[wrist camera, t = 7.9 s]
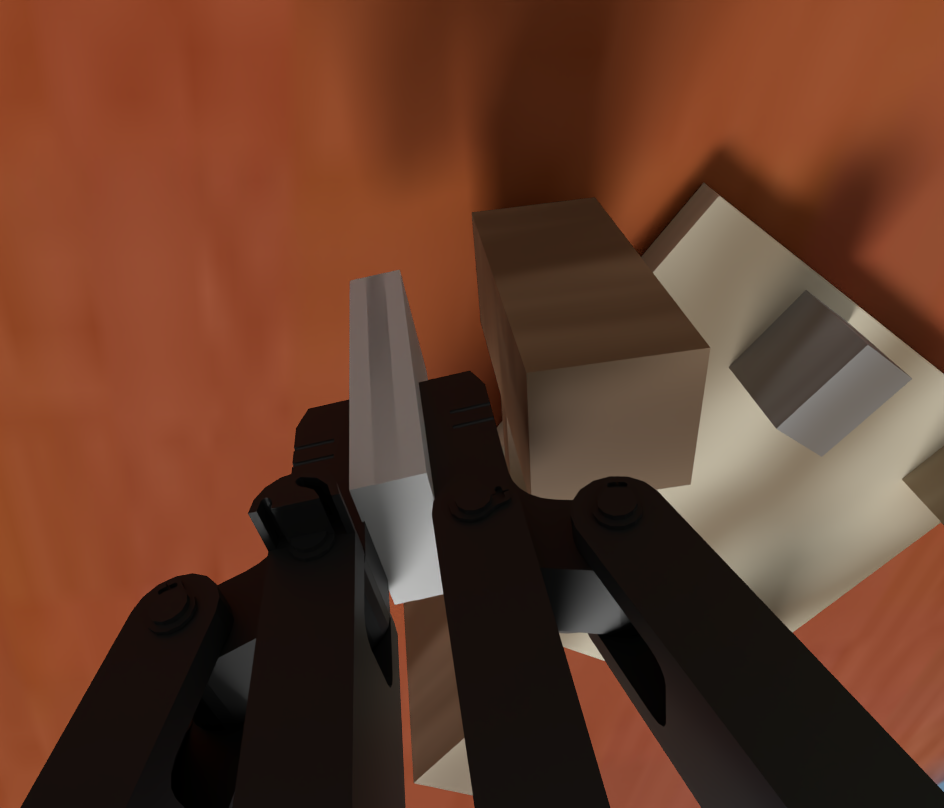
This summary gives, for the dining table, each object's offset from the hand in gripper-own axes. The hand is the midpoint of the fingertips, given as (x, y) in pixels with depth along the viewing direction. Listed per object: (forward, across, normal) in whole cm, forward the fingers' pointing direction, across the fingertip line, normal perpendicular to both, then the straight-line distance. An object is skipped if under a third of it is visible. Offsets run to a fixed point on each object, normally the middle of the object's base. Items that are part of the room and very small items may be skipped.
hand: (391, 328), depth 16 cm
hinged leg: (+2, +3, -4) cm, 6 cm away
